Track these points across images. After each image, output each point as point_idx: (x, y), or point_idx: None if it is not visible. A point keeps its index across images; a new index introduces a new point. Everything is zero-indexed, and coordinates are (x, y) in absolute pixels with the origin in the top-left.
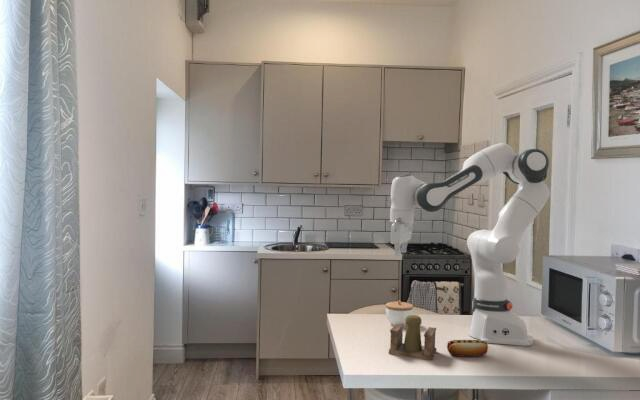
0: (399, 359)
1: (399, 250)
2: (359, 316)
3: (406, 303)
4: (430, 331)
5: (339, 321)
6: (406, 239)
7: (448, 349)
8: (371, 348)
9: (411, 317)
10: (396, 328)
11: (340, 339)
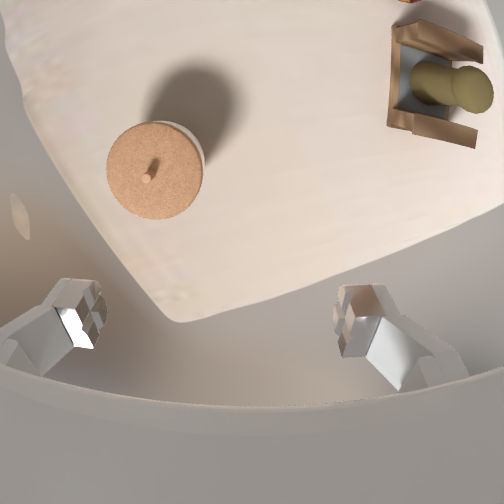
0: (463, 112)
1: (411, 324)
2: (156, 270)
3: (122, 155)
4: (456, 41)
5: (229, 297)
6: (124, 431)
7: (415, 1)
8: (418, 177)
9: (492, 98)
10: (460, 132)
11: (374, 254)
